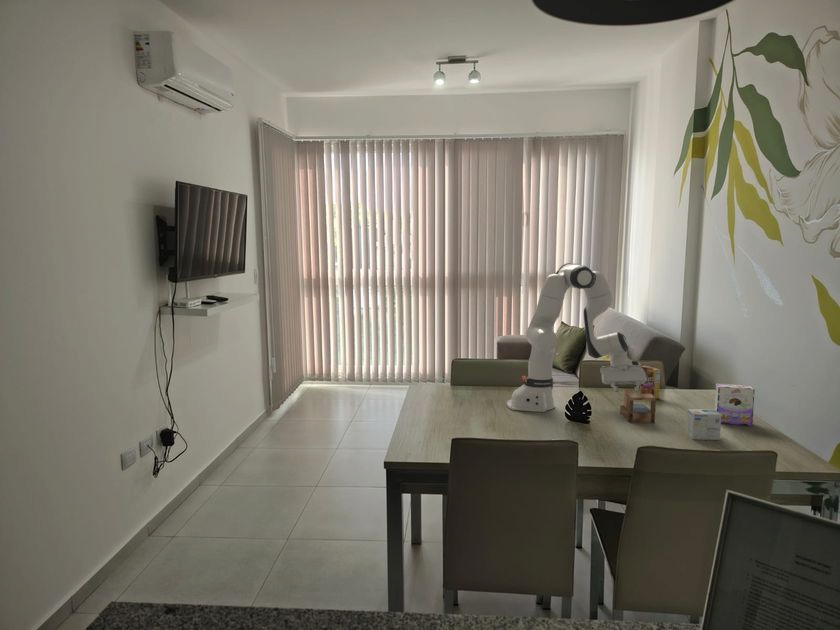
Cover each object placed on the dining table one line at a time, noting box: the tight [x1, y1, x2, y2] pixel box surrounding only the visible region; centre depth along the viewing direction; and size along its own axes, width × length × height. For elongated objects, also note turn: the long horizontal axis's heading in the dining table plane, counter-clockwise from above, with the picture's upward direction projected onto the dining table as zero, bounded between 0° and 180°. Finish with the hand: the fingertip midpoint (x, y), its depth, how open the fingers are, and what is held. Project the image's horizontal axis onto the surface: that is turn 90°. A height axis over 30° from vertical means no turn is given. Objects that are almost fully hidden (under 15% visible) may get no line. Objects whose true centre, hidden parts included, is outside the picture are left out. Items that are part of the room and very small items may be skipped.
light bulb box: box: [686, 408, 722, 441], centre depth 215 cm, size 11×7×11 cm, turn 84°
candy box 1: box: [639, 365, 661, 400], centre depth 271 cm, size 9×4×15 cm, turn 28°
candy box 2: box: [714, 383, 756, 427], centre depth 232 cm, size 14×6×16 cm, turn 71°
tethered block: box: [623, 390, 649, 413], centre depth 243 cm, size 6×17×9 cm, turn 178°
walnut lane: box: [619, 393, 657, 424], centre depth 239 cm, size 11×12×11 cm
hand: (626, 391), depth 253 cm, fingers open, 8 cm apart
